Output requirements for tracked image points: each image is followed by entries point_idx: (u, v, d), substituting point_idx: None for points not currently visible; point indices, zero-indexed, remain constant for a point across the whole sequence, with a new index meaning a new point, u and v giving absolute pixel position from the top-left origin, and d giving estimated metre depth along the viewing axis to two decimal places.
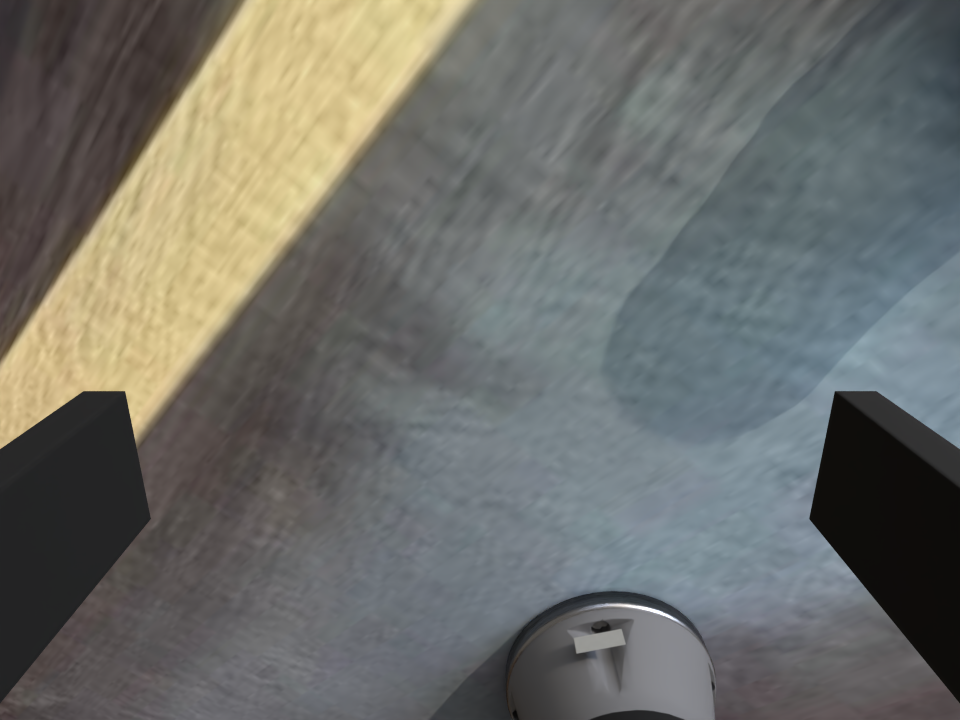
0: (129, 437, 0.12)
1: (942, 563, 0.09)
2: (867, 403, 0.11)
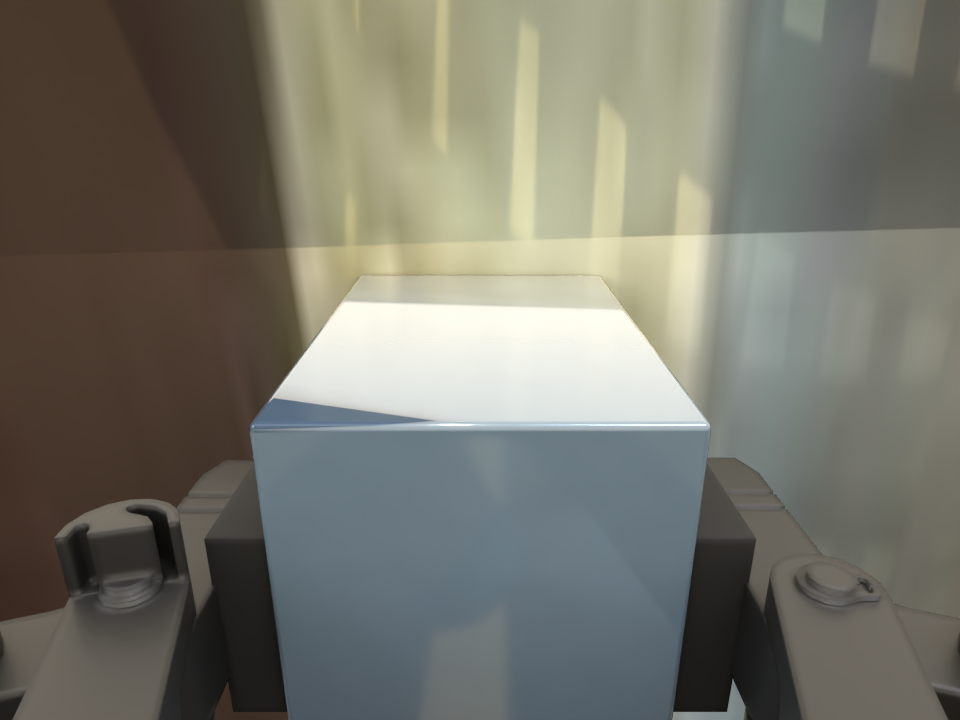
0: None
1: None
2: None
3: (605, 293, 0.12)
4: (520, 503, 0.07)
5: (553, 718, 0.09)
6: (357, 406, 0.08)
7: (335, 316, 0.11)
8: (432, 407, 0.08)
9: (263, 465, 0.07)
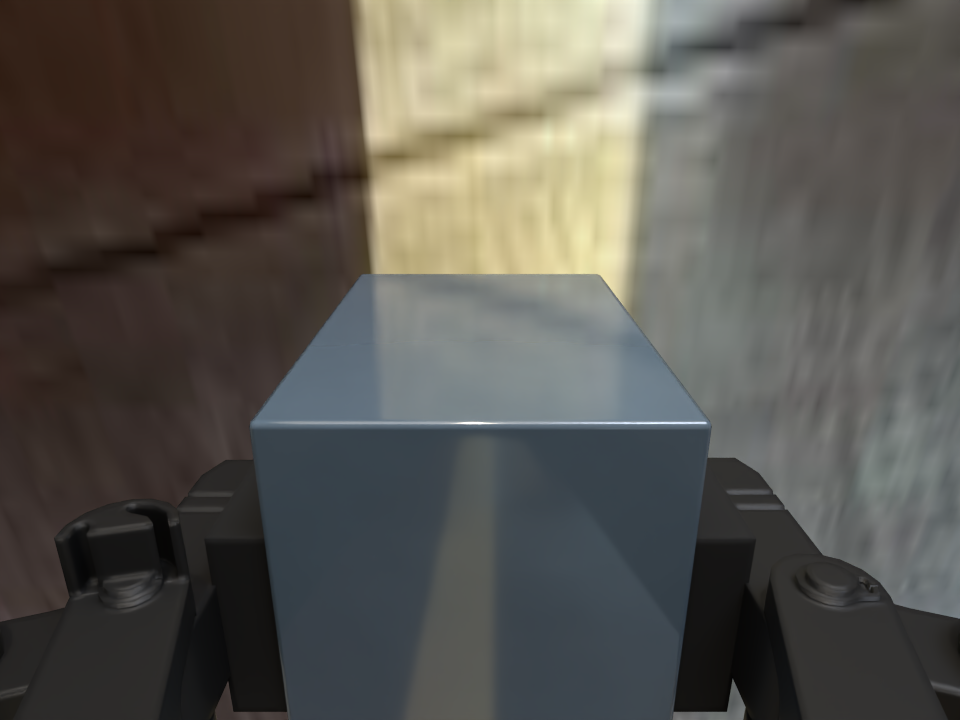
0: None
1: None
2: None
3: (605, 292, 0.12)
4: (521, 502, 0.07)
5: (553, 717, 0.09)
6: (357, 404, 0.08)
7: (335, 315, 0.11)
8: (432, 406, 0.07)
9: (264, 464, 0.07)
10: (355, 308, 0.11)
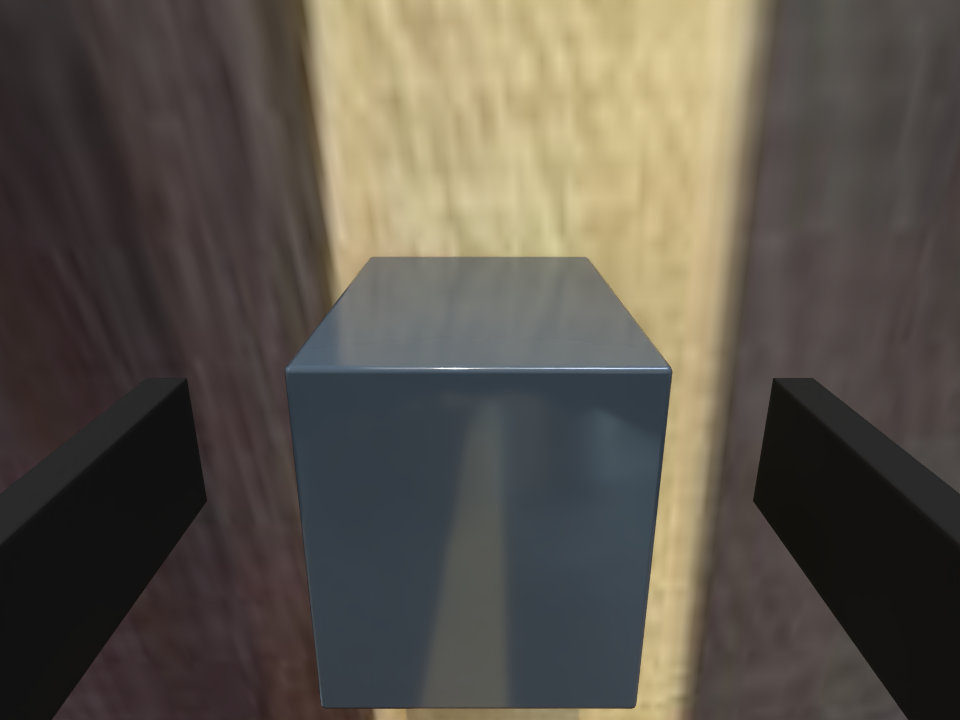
0: (190, 422, 0.13)
1: (856, 535, 0.10)
2: (801, 389, 0.12)
3: (591, 271, 0.14)
4: (513, 437, 0.09)
5: (541, 629, 0.10)
6: (374, 355, 0.09)
7: (350, 289, 0.12)
8: (438, 356, 0.09)
9: (296, 403, 0.09)
10: (367, 284, 0.13)
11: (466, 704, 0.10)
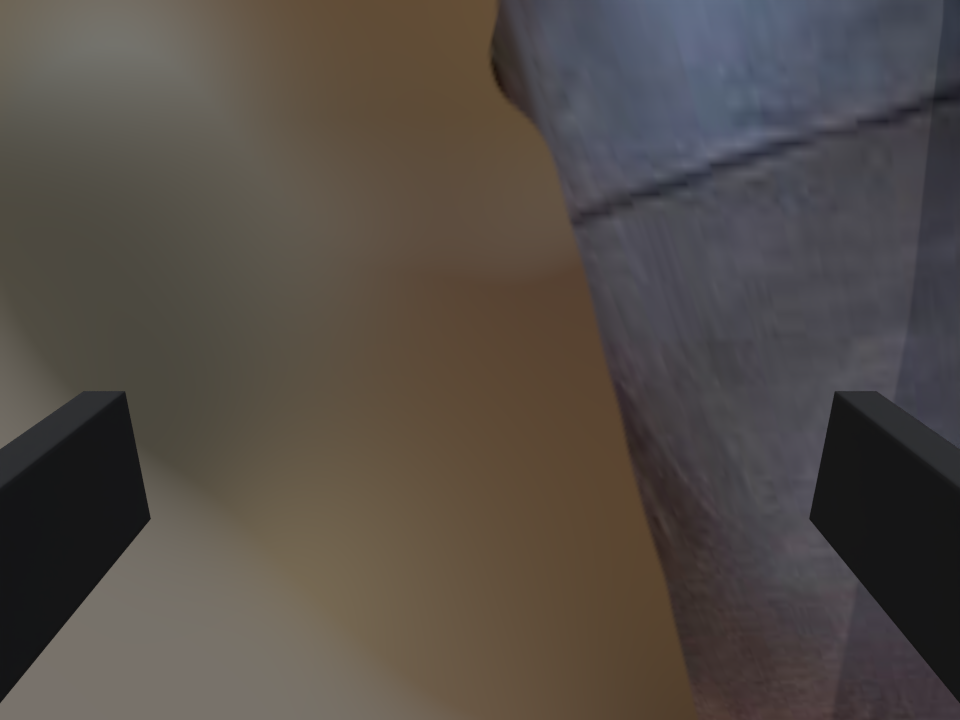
0: (129, 437, 0.12)
1: (942, 563, 0.09)
2: (867, 403, 0.12)
3: None
4: None
5: None
6: None
7: None
8: None
9: None
10: None
11: None
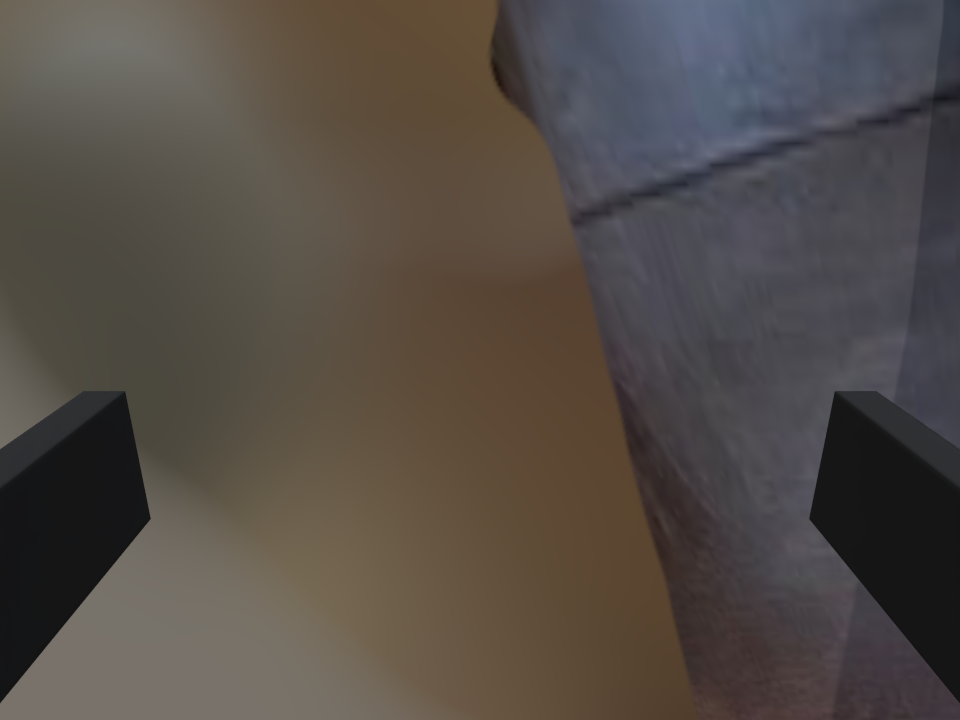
0: (129, 437, 0.12)
1: (942, 563, 0.09)
2: (867, 403, 0.12)
3: None
4: None
5: None
6: None
7: None
8: None
9: None
10: None
11: None
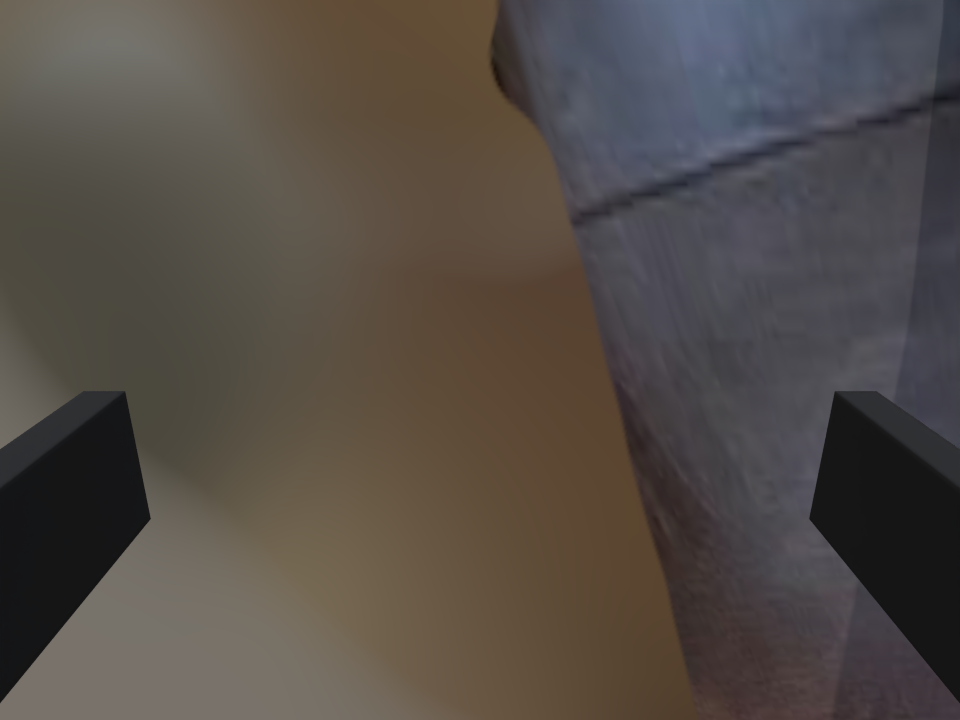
0: (129, 437, 0.12)
1: (942, 563, 0.09)
2: (867, 403, 0.12)
3: None
4: None
5: None
6: None
7: None
8: None
9: None
10: None
11: None
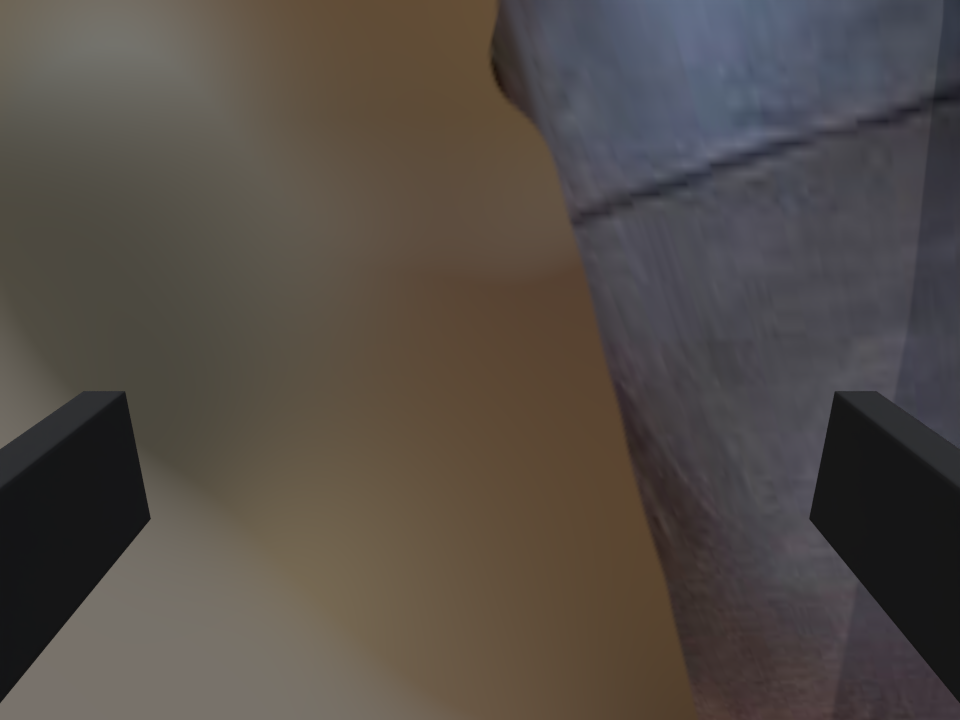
0: (129, 437, 0.12)
1: (942, 563, 0.09)
2: (867, 403, 0.12)
3: None
4: None
5: None
6: None
7: None
8: None
9: None
10: None
11: None
